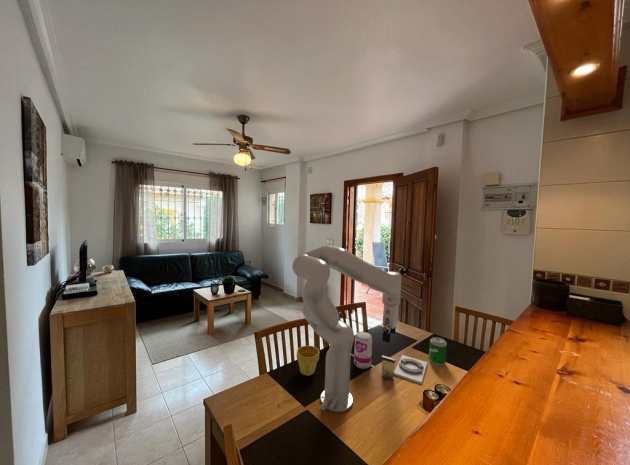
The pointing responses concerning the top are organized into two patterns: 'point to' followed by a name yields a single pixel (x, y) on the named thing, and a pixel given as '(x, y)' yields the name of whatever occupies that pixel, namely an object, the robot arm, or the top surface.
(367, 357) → the supplement can
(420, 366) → the socket board
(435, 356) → the soda can
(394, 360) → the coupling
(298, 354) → the plant pot
